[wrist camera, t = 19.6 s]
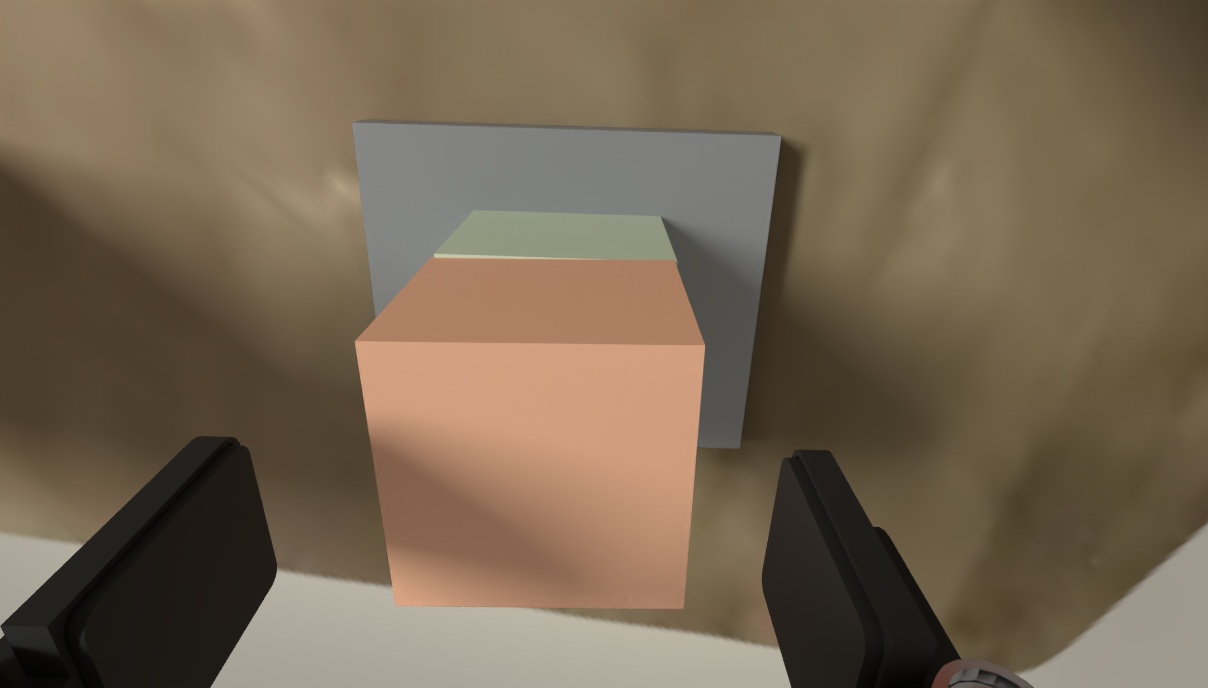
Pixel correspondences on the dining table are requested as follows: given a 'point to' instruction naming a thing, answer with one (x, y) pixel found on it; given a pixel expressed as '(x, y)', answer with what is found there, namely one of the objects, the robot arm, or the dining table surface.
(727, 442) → the gray plate
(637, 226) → the sage block
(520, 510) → the terracotta block
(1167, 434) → the dining table surface
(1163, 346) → the dining table surface
